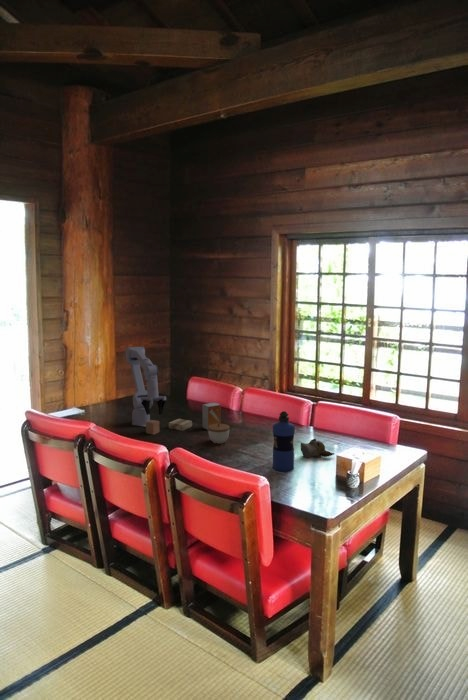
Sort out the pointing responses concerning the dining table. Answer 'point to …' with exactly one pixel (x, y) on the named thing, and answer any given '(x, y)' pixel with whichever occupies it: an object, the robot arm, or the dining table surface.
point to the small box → (211, 414)
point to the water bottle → (283, 444)
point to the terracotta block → (152, 427)
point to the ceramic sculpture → (314, 449)
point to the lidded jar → (218, 432)
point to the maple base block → (180, 424)
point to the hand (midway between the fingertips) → (154, 414)
